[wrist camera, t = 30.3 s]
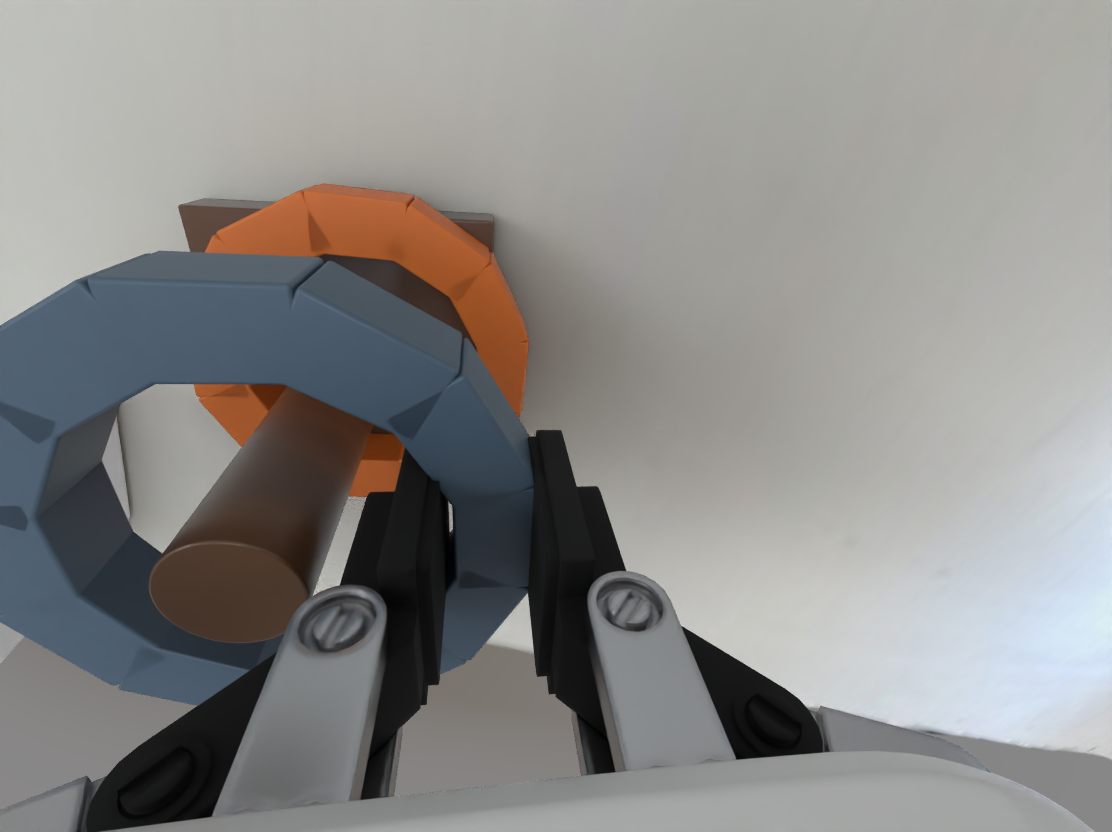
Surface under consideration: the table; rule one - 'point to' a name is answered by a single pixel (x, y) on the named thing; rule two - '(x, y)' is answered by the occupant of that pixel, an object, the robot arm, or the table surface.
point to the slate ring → (233, 358)
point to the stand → (278, 477)
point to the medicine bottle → (6, 639)
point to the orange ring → (386, 234)
